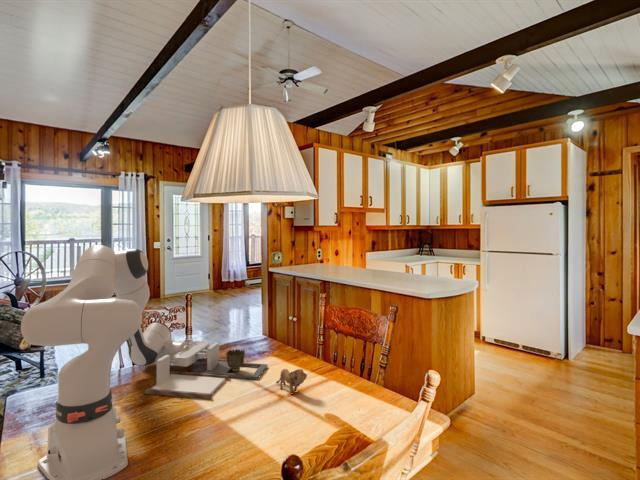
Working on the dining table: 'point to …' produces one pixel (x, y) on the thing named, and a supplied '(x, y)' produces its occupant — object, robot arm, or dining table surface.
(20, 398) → the dining table surface
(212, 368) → the grey frame with upright
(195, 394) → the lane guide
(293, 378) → the lion figurine
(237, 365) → the cup
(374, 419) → the dining table surface
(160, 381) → the white platform with upright
